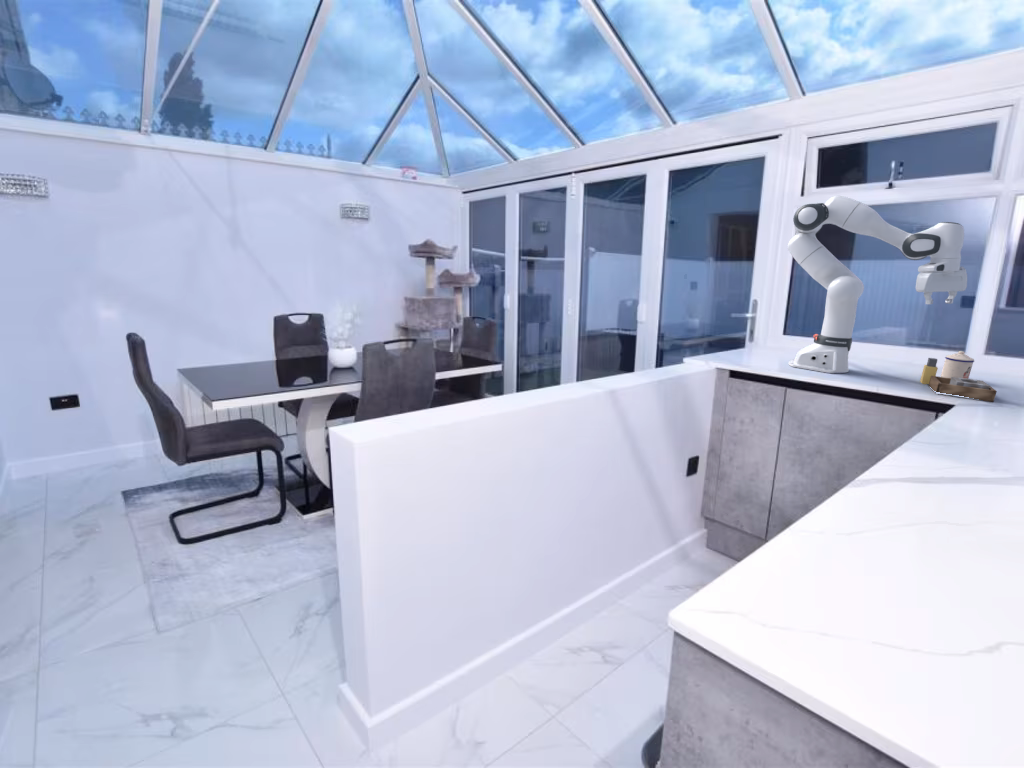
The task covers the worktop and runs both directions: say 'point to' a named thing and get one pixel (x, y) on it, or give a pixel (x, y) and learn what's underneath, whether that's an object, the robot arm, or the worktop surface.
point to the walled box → (963, 387)
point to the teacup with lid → (957, 365)
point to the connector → (929, 370)
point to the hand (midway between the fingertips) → (938, 303)
